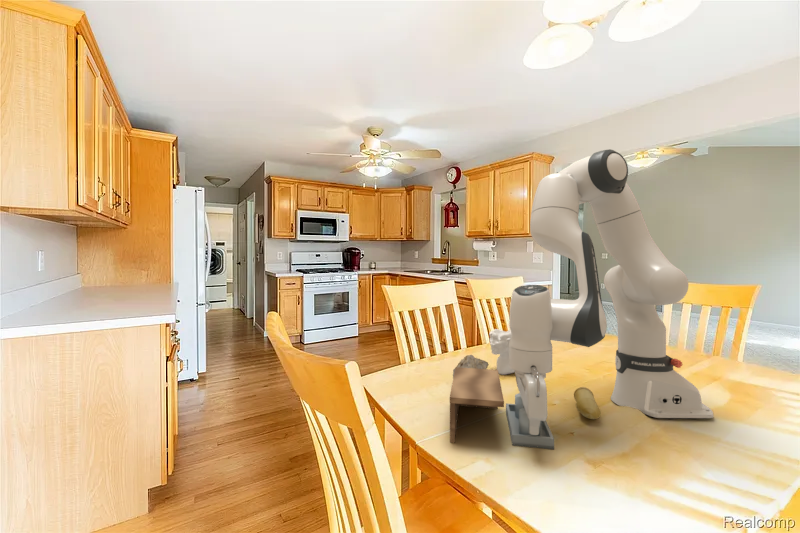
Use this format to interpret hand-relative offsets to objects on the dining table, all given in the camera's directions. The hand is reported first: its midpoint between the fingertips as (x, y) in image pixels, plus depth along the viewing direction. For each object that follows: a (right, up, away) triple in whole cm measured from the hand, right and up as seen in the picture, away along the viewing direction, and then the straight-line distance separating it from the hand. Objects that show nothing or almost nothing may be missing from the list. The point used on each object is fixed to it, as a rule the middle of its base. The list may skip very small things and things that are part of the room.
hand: (530, 423), depth 79 cm
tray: (+1, -3, +4) cm, 6 cm away
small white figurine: (+7, -3, +44) cm, 45 cm away
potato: (+19, -3, +12) cm, 23 cm away
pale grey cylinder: (+2, -3, +9) cm, 10 cm away
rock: (-7, -3, +30) cm, 31 cm away
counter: (-10, -3, +7) cm, 13 cm away
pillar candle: (0, -3, 0) cm, 3 cm away
